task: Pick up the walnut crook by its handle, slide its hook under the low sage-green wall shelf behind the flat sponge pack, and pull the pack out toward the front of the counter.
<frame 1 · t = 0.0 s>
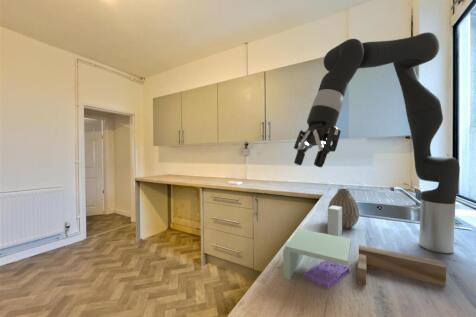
hand: (306, 165, 58), 31 cm above the countertop, tool tilted 20°, fingers open, 8 cm apart
wall shelf: (321, 273, 62), on the countertop
sponges: (327, 276, 61), on the countertop
vase: (342, 226, 100), on the countertop
skincare box: (334, 236, 89), on the countertop
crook: (397, 271, 63), on the countertop
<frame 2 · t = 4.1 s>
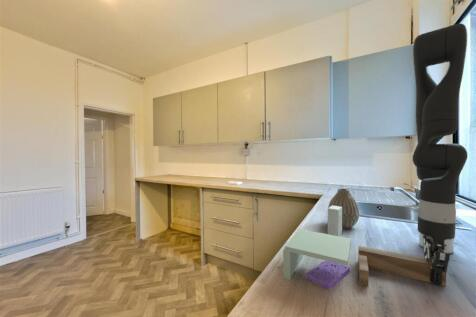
hand: (433, 279, 59), 0 cm above the countertop, tool pointing down, fingers closed on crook, 3 cm apart
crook: (397, 272, 62), on the countertop, touching gripper
everything else where it was.
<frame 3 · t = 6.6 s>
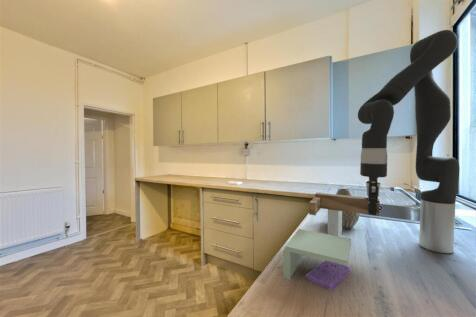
hand: (372, 212, 72), 14 cm above the countertop, tool pointing down, fingers closed on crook, 3 cm apart
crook: (345, 210, 76), point 14 cm above the countertop, touching gripper
everything else where it was.
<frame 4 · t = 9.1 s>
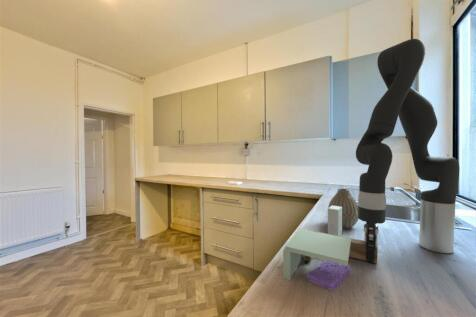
hand: (370, 258, 69), 1 cm above the countertop, tool pointing down, fingers closed on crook, 3 cm apart
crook: (342, 252, 73), on the countertop, touching gripper
everything else where it was.
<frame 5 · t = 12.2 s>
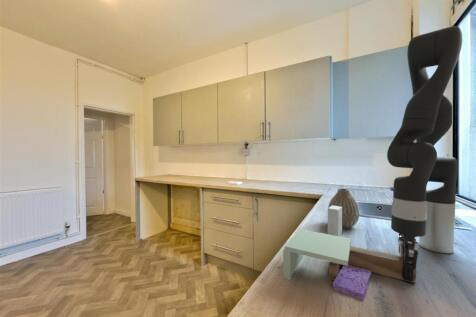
hand: (406, 276, 59), 1 cm above the countertop, tool pointing down, fingers closed on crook, 3 cm apart
sponges: (352, 283, 58), on the countertop, touching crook
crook: (371, 269, 64), on the countertop, touching sponges, gripper
everything else where it was.
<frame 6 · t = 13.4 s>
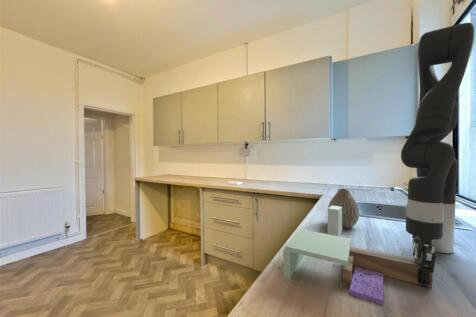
hand: (421, 279, 58), 1 cm above the countertop, tool pointing down, fingers closed on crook, 3 cm apart
sponges: (367, 288, 56), on the countertop
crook: (384, 272, 62), on the countertop, touching gripper
everything else where it was.
when the fingers open (1 cm above the countertop, at t = 14.3 s): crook stays where it is, on the countertop.
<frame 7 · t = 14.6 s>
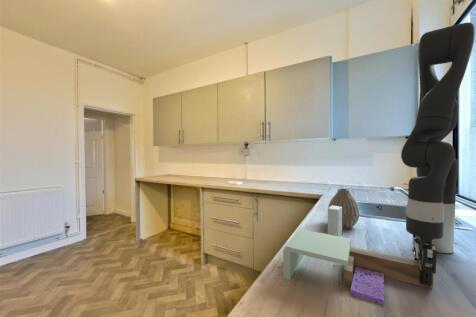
hand: (422, 277, 58), 1 cm above the countertop, tool pointing down, fingers open, 6 cm apart
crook: (385, 273, 62), on the countertop
everything else where it was.
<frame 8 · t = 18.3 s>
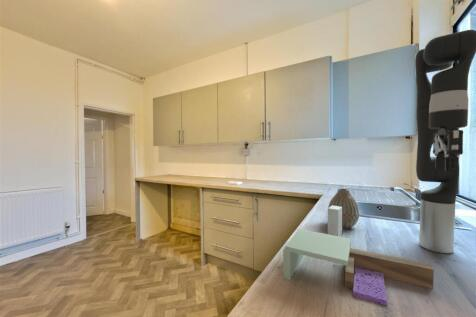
hand: (445, 170, 58), 30 cm above the countertop, tool pointing down, fingers open, 8 cm apart
nothing on the countertop moved.
at the end: sponges inside the target area (5.7 cm from its centre), on the countertop; sponges moved 10.2 cm from its start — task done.
